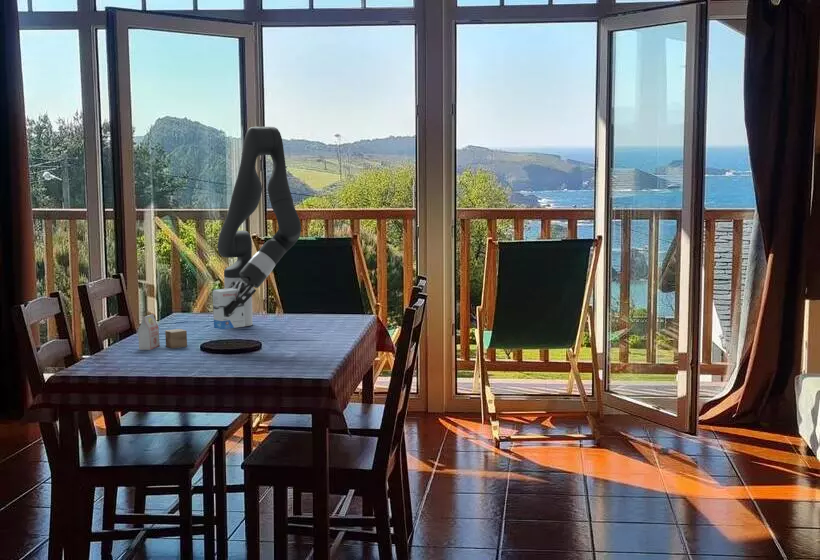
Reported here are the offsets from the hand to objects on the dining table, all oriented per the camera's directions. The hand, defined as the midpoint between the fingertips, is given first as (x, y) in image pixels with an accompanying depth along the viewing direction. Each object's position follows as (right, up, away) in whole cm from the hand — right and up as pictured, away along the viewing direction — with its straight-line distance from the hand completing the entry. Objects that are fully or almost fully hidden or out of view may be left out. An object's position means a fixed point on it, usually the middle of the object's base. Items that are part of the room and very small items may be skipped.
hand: (223, 311), depth 295 cm
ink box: (+2, -5, +2) cm, 6 cm away
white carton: (-23, -12, +2) cm, 26 cm away
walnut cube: (-15, -11, +4) cm, 19 cm away
